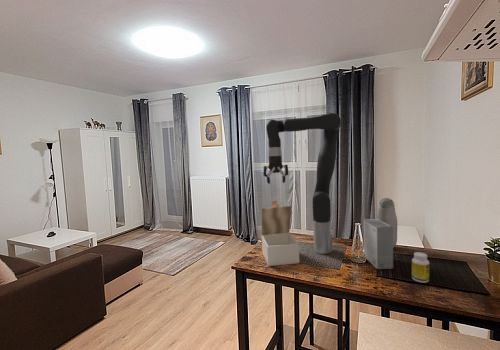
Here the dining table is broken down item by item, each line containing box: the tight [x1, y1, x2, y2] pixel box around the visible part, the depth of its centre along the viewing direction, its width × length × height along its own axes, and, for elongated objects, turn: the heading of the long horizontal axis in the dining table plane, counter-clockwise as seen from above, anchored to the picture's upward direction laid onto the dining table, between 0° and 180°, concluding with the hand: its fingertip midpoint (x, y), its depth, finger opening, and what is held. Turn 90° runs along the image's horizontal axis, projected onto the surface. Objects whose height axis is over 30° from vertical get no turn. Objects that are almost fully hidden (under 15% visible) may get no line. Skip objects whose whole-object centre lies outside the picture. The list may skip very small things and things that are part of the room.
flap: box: [261, 200, 292, 236], centre depth 146 cm, size 16×18×6 cm
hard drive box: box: [363, 218, 394, 270], centre depth 127 cm, size 16×8×20 cm, turn 179°
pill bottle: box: [411, 251, 430, 284], centre depth 109 cm, size 6×6×11 cm
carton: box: [261, 232, 300, 267], centre depth 139 cm, size 16×18×10 cm
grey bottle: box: [376, 197, 398, 249], centre depth 143 cm, size 10×10×28 cm
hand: (276, 183), depth 151 cm, fingers open, 8 cm apart
